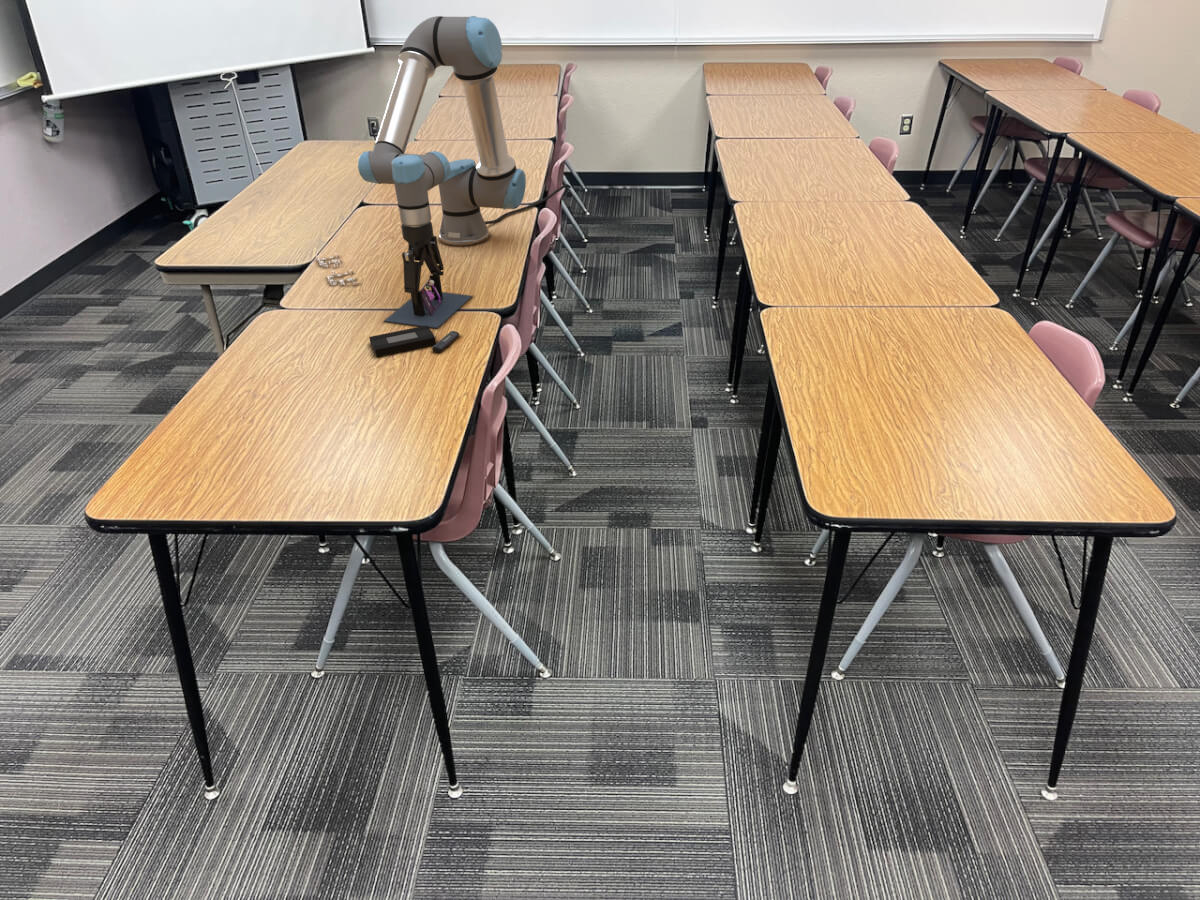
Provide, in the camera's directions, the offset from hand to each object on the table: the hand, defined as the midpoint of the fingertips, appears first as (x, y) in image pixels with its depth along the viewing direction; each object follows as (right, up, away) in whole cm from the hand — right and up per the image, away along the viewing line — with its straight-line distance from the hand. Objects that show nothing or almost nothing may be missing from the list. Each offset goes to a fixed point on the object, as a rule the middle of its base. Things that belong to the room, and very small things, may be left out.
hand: (428, 307), depth 212 cm
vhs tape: (-3, -12, -16) cm, 20 cm away
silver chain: (-31, +14, +23) cm, 41 cm away
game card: (0, 0, 0) cm, 1 cm away
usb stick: (+8, -12, -16) cm, 22 cm away
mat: (0, -1, 0) cm, 1 cm away
